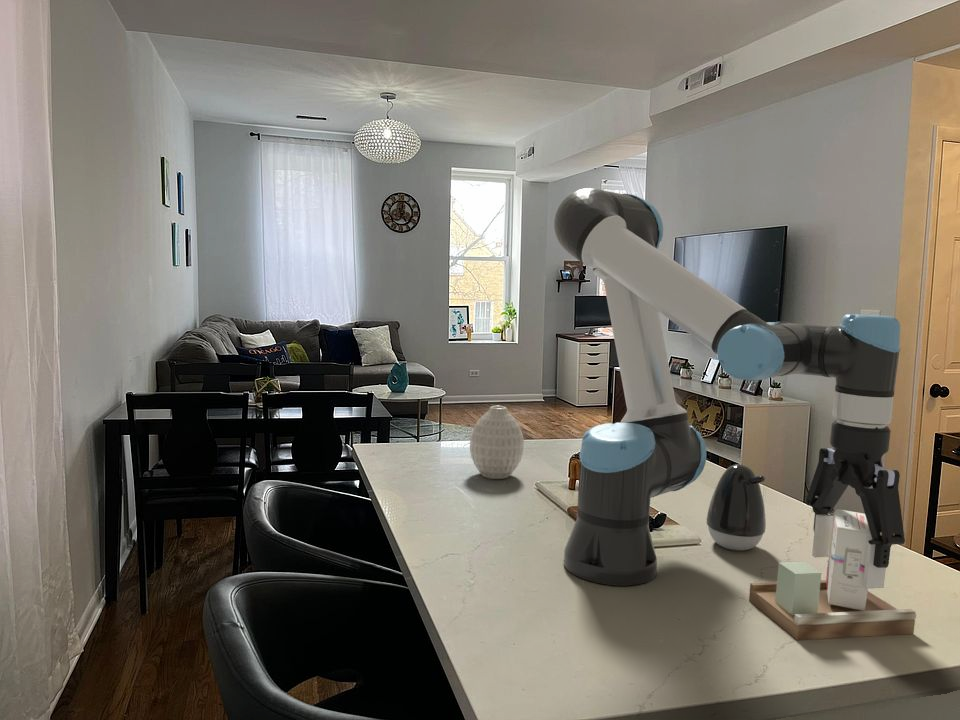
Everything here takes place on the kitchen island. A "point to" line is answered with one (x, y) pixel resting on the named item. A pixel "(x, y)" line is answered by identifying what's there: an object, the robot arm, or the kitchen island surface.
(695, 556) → the kitchen island surface
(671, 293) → the robot arm
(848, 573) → the ink cartridge box
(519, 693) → the kitchen island surface
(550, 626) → the kitchen island surface
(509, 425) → the vase
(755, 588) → the brown wooden tray
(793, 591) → the pale green block
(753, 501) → the pump dispenser
